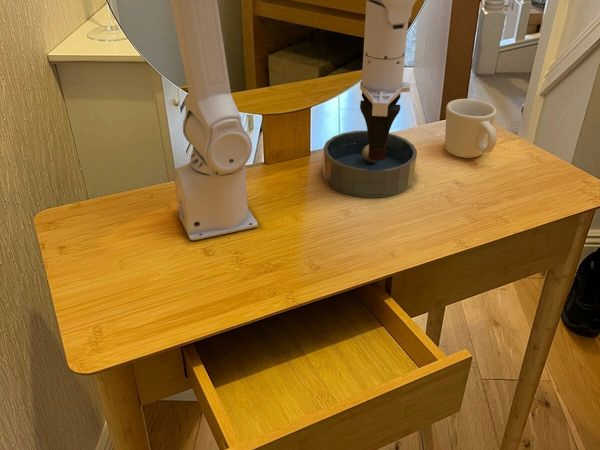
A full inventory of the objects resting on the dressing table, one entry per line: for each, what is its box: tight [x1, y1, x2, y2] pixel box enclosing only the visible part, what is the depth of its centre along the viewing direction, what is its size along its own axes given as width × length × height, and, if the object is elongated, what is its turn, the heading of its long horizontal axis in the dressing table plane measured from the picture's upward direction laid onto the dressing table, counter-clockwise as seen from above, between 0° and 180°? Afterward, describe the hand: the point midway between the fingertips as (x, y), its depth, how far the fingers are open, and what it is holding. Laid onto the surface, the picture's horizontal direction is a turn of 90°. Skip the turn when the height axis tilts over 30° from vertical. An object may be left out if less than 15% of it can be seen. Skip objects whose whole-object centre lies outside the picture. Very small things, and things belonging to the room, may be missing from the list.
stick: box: [368, 142, 387, 161], centre depth 93 cm, size 3×3×8 cm
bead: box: [362, 145, 376, 163], centre depth 100 cm, size 3×3×3 cm
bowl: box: [322, 130, 418, 199], centre depth 97 cm, size 14×14×4 cm
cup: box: [444, 98, 498, 159], centre depth 102 cm, size 11×8×8 cm
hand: (377, 142), depth 94 cm, fingers closed on stick, 2 cm apart
